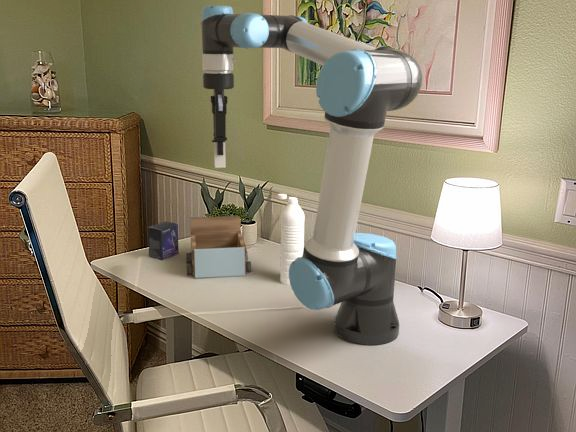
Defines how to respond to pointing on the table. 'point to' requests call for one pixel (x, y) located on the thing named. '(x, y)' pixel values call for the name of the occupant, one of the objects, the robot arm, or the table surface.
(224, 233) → the box
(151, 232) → the box
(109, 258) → the table surface
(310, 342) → the table surface
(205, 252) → the panel
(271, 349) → the table surface
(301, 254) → the water bottle
